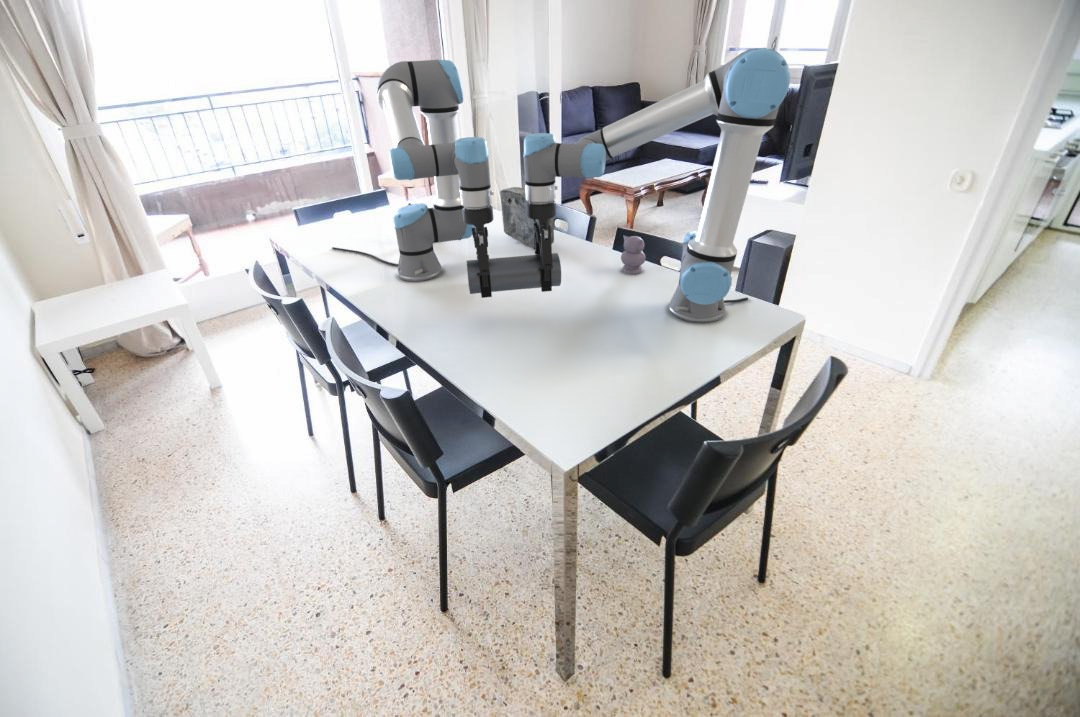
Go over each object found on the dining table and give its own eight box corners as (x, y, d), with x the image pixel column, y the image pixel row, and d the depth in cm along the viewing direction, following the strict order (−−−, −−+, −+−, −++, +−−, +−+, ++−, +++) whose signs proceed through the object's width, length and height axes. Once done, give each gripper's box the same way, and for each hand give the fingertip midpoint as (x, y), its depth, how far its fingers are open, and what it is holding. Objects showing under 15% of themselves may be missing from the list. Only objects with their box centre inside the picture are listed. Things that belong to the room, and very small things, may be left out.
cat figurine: (649, 270, 171) (652, 236, 165) (636, 276, 167) (638, 242, 160) (628, 264, 176) (630, 231, 170) (615, 271, 172) (617, 237, 165)
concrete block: (559, 249, 192) (558, 197, 182) (540, 255, 188) (538, 201, 178) (520, 233, 211) (518, 185, 200) (503, 238, 207) (499, 188, 196)
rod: (470, 299, 131) (466, 267, 126) (469, 286, 139) (465, 255, 134) (561, 290, 134) (561, 259, 129) (555, 278, 141) (555, 248, 137)
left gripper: (495, 216, 115) (502, 305, 126) (489, 194, 133) (496, 273, 145) (463, 219, 114) (473, 307, 126) (461, 196, 132) (470, 276, 144)
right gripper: (563, 210, 116) (564, 298, 128) (548, 190, 135) (550, 268, 146) (532, 213, 116) (536, 301, 127) (520, 192, 134) (525, 271, 146)
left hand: (485, 289), depth 135 cm, fingers closed on rod, 9 cm apart
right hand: (543, 283), depth 137 cm, fingers closed on rod, 9 cm apart
